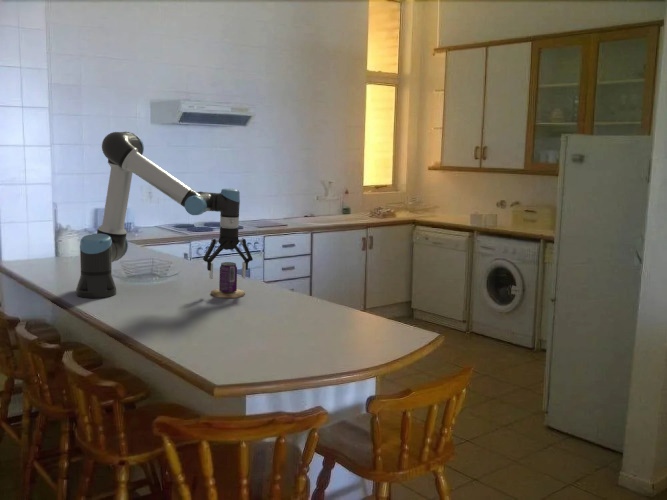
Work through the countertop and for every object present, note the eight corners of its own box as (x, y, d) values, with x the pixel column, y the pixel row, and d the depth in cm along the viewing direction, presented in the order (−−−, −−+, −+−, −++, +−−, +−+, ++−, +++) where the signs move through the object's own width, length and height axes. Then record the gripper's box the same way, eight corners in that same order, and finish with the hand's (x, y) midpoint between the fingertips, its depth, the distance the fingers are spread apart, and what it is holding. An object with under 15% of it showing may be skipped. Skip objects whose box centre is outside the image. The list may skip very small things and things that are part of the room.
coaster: (214, 298, 278) (214, 296, 278) (207, 290, 290) (207, 288, 290) (248, 297, 283) (248, 295, 283) (240, 289, 296) (240, 287, 296)
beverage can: (238, 290, 290) (239, 262, 288) (234, 294, 283) (234, 265, 281) (221, 289, 290) (222, 261, 288) (217, 293, 283) (217, 264, 281)
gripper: (200, 228, 274) (198, 280, 277) (261, 228, 283) (259, 279, 287) (196, 225, 281) (195, 276, 284) (256, 225, 290) (254, 275, 294)
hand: (227, 277), depth 286 cm, fingers open, 13 cm apart
